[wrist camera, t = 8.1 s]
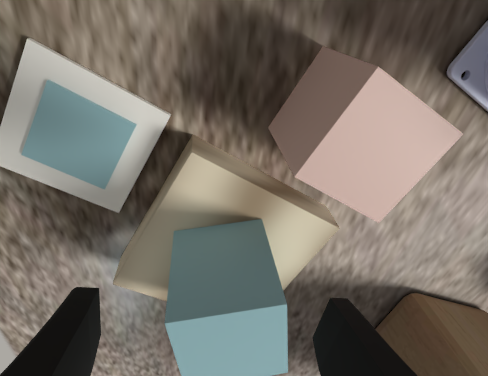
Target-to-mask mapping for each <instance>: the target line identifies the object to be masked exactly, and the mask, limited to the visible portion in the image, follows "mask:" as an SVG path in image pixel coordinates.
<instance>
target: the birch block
mask: <svg viewBox="0 0 488 376" xmlns="http://www.w3.org/2000/svg"><path fill="white" fill-rule="evenodd" d="M257 219H262V221H263V224H264V228H265V231H266V235H267V238H268V241H269V245H270V248H271V251H272V255H273V258H274V262H275V265H276V268H277V272H278V275H279V279H280V282H281V285H282V289H283V290H284V289H285V288H286V287H287V286H288V285H289V283H290V282H291V281H292V280H293V279H294V278H295V277H296V276H297V275H298V274H299V272H300V271H301V270H302V269H303V268H304V267H305V266H306V265H307V264H308V263H309V261H310V260H311V259H312V258H313V257H314V256H315V255H316V254H317V253H318V252H319V250H320V249H321V248H322V247H323V246H324V245H325V244H326V243H327V242H328V241H329V239H330V238H331V237H332V236H333V235H334V234H335V233H336V232H337V231H338V230H339V226H338V225H337V223H336V221H335V220H334V218H333V217H332V215H331V213H330V212H329V210H328V208H327V207H326V206H325V205H323V204H321V203H319V202H318V201H316V200H314V199H312V198H310V197H308V196H306V195H305V194H303V193H301V192H299V191H297V190H295V189H293V188H291V187H290V186H288V185H286V184H284V183H282V182H280V181H278V180H277V179H275V178H273V177H271V176H269V175H267V174H265V173H264V172H262V171H260V170H258V169H256V168H254V167H252V166H251V165H249V164H247V163H245V162H243V161H241V160H239V159H237V158H236V157H234V156H232V155H230V154H228V153H226V152H224V151H223V150H221V149H219V148H217V147H215V146H213V145H211V144H210V143H208V142H206V141H204V140H202V139H200V138H198V137H197V136H195V135H192V136H191V138H190V140H189V141H188V143H187V145H186V147H185V148H184V150H183V152H182V153H181V155H180V157H179V159H178V160H177V162H176V164H175V165H174V167H173V169H172V170H171V172H170V174H169V176H168V177H167V179H166V181H165V182H164V184H163V186H162V188H161V189H160V191H159V193H158V194H157V196H156V198H155V200H154V201H153V203H152V205H151V206H150V208H149V210H148V211H147V213H146V215H145V217H144V218H143V220H142V222H141V223H140V225H139V227H138V229H137V230H136V232H135V234H134V235H133V237H132V239H131V240H130V242H129V244H128V246H127V247H126V249H125V251H124V252H123V254H122V256H121V258H120V262H119V265H118V268H117V272H116V275H115V278H114V281H113V284H114V285H117V286H120V287H123V288H126V289H130V290H133V291H136V292H139V293H142V294H145V295H148V296H152V297H155V298H158V299H161V300H164V301H167V295H168V285H169V275H170V265H171V255H172V244H173V234H174V231H178V230H185V229H193V228H200V227H207V226H214V225H221V224H229V223H236V222H243V221H250V220H257Z"/></svg>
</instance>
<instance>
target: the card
mask: <svg viewBox="0 0 488 376" xmlns="http://www.w3.org/2000/svg"><path fill="white" fill-rule="evenodd" d="M170 116H171V114H170V113H169V112H167V111H165V110H163V109H161V108H159V107H157V106H156V105H154V104H152V103H150V102H148V101H146V100H144V99H143V98H141V97H139V96H137V95H135V94H133V93H132V92H130V91H128V90H126V89H124V88H122V87H120V86H119V85H117V84H115V83H113V82H111V81H109V80H107V79H106V78H104V77H102V76H100V75H98V74H96V73H95V72H93V71H91V70H89V69H87V68H85V67H83V66H82V65H80V64H78V63H76V62H74V61H72V60H70V59H69V58H67V57H65V56H63V55H61V54H59V53H58V52H56V51H54V50H52V49H50V48H48V47H46V46H45V45H43V44H41V43H39V42H37V41H35V40H33V39H32V38H27V41H26V44H25V47H24V51H23V54H22V57H21V60H20V64H19V67H18V70H17V73H16V77H15V80H14V83H13V87H12V90H11V93H10V96H9V100H8V103H7V106H6V109H5V113H4V116H3V119H2V123H1V126H0V166H1V167H4V168H6V169H9V170H11V171H14V172H16V173H19V174H21V175H24V176H26V177H29V178H31V179H34V180H36V181H39V182H41V183H44V184H47V185H49V186H52V187H54V188H57V189H59V190H62V191H64V192H67V193H69V194H72V195H74V196H77V197H79V198H82V199H84V200H87V201H89V202H92V203H94V204H97V205H99V206H102V207H105V208H107V209H110V210H112V211H115V212H117V213H119V212H120V210H121V208H122V206H123V204H124V202H125V200H126V199H127V197H128V195H129V193H130V191H131V189H132V187H133V185H134V183H135V182H136V180H137V178H138V176H139V174H140V172H141V170H142V168H143V167H144V165H145V163H146V161H147V159H148V157H149V155H150V153H151V152H152V150H153V148H154V146H155V144H156V142H157V140H158V138H159V137H160V135H161V133H162V131H163V129H164V127H165V125H166V123H167V121H168V120H169V118H170Z"/></svg>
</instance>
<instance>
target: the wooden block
mask: <svg viewBox="0 0 488 376" xmlns="http://www.w3.org/2000/svg"><path fill="white" fill-rule="evenodd" d="M375 330H376V331H377V332H378V333H379V335H380V336H381V337H382V338H383V339H384V340H385V341H386V342H387V343H388V345H389V346H390V347H391V348H392V349H393V350H394V351H395V352H396V353H397V354H398V355H399V357H400V358H401V359H402V360H403V361H404V362H405V363H406V364H407V365H408V366H409V367H410V368H411V369H412V370H413V371H414V372H415V373H416V374H417V376H488V313H487V312H485V311H483V310H480V309H476V308H472V307H468V306H464V305H460V304H457V303H453V302H449V301H445V300H441V299H437V298H434V297H430V296H426V295H422V294H418V293H412V294H409V295H407V296H405V297H404V298H403V299H402V300H401V301H400V302H399V303H398V304H397V306H396V307H395V308H394V309H393V310H392V311H391V312H390V313H389V314H388V316H387V317H386V318H385V319H384V320H383V321H382V322H381V323H380V324H379V326H378V327H377V328H376V329H375Z"/></svg>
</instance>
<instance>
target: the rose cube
mask: <svg viewBox="0 0 488 376" xmlns="http://www.w3.org/2000/svg"><path fill="white" fill-rule="evenodd" d="M268 129H269V130H270V132H271V134H272V136H273V138H274V140H275V142H276V143H277V145H278V147H279V149H280V151H281V153H282V155H283V156H284V158H285V160H286V162H287V164H288V166H289V168H290V170H291V171H292V173H293V175H294V177H296V178H297V179H299V180H301V181H303V182H305V183H307V184H308V185H310V186H312V187H314V188H316V189H318V190H319V191H321V192H323V193H325V194H327V195H329V196H330V197H332V198H334V199H336V200H338V201H340V202H341V203H343V204H345V205H347V206H349V207H351V208H352V209H354V210H356V211H358V212H360V213H362V214H363V215H365V216H367V217H369V218H371V219H373V220H375V221H376V222H378V223H379V222H380V221H381V220H382V219H383V218H384V217H385V216H386V215H387V214H388V213H389V212H390V211H391V210H392V209H393V208H394V206H395V205H396V204H397V203H398V202H399V201H400V200H401V199H402V198H403V197H404V196H405V195H406V194H407V193H408V192H409V191H410V190H411V189H412V188H413V187H414V185H415V184H416V183H417V182H418V181H419V180H420V179H421V178H422V177H423V176H424V175H425V174H426V173H427V172H428V171H429V170H430V169H431V168H432V167H433V166H434V164H435V163H436V162H437V161H438V160H439V159H440V158H441V157H442V156H443V155H444V154H445V153H446V152H447V151H448V150H449V149H450V148H451V147H452V146H453V145H454V143H455V142H456V141H457V140H458V139H459V138H460V137H461V136H462V135H463V133H462V132H460V131H459V130H458V129H456V128H455V127H454V126H453V125H451V124H450V123H449V122H448V121H446V120H445V119H444V118H443V117H441V116H440V115H439V114H438V113H436V112H435V111H434V110H433V109H431V108H430V107H429V106H427V105H426V104H425V103H424V102H422V101H421V100H420V99H419V98H417V97H416V96H415V95H414V94H412V93H411V92H410V91H409V90H407V89H406V88H405V87H404V86H402V85H401V84H400V83H399V82H397V81H396V80H395V79H393V78H392V77H391V76H390V75H388V74H387V73H386V72H385V71H383V70H382V69H381V68H380V67H378V66H375V65H373V64H370V63H367V62H365V61H362V60H359V59H357V58H354V57H351V56H348V55H346V54H343V53H340V52H338V51H335V50H332V49H329V48H327V47H324V46H323V47H322V48H321V50H320V51H319V53H318V54H317V56H316V57H315V59H314V60H313V62H312V63H311V65H310V66H309V68H308V69H307V70H306V72H305V73H304V75H303V76H302V78H301V79H300V81H299V82H298V84H297V85H296V87H295V88H294V90H293V91H292V93H291V94H290V96H289V97H288V99H287V100H286V102H285V103H284V105H283V106H282V108H281V109H280V111H279V112H278V113H277V115H276V116H275V118H274V119H273V121H272V122H271V124H270V125H269V127H268Z"/></svg>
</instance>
